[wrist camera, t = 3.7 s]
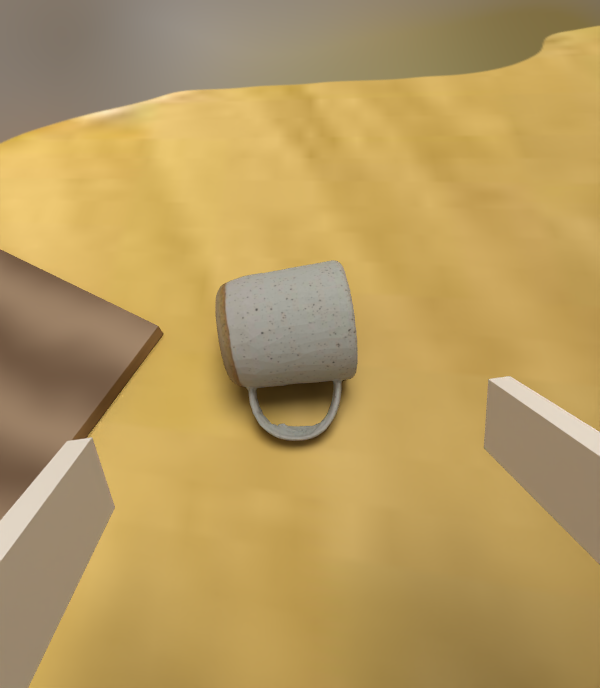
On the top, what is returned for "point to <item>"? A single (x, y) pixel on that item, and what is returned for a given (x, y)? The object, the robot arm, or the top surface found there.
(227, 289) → the ceramic mug
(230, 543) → the top surface
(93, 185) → the top surface
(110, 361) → the board
